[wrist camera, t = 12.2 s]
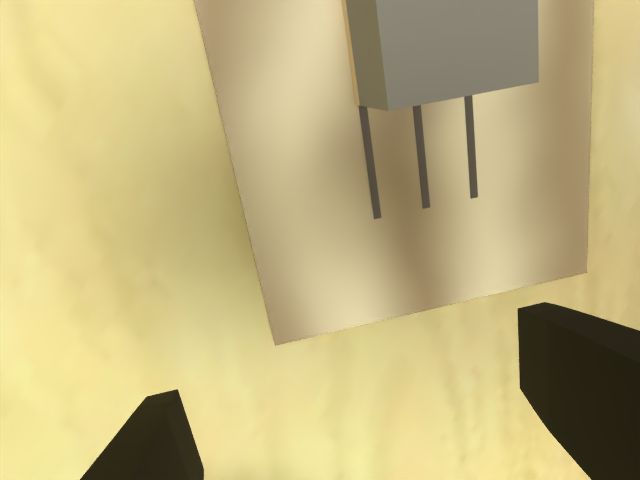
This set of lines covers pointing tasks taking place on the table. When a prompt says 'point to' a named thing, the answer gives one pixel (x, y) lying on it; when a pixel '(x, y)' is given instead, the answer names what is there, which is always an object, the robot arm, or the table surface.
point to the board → (396, 170)
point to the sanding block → (438, 49)
